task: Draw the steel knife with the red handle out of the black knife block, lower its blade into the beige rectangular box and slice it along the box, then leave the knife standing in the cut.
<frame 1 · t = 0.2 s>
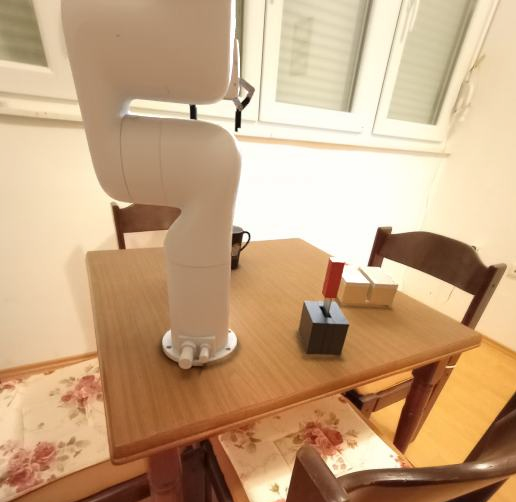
hand: (215, 129, 73), 31 cm above the table, tool pointing down, fingers open, 9 cm apart
knife block: (317, 345, 57), on the table
beige rectangular box: (357, 297, 76), on the table
knife: (318, 341, 56), point 1 cm above the table, touching knife block
coffee mug: (231, 266, 87), on the table
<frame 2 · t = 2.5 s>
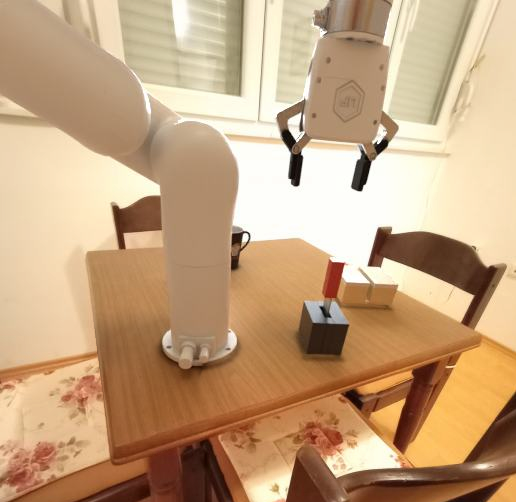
hand: (325, 187, 47), 25 cm above the table, tool pointing down, fingers open, 9 cm apart
nothing on the table moved.
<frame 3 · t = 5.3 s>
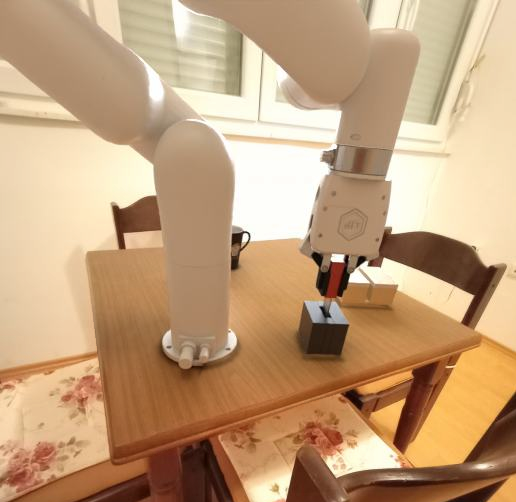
hand: (329, 292, 51), 11 cm above the table, tool pointing down, fingers closed on knife, 2 cm apart
knife: (318, 341, 56), point 1 cm above the table, touching gripper
everything else where it was.
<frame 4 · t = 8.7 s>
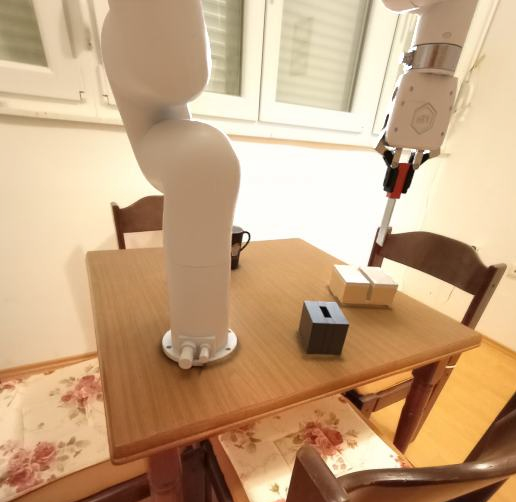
hand: (394, 191, 60), 24 cm above the table, tool pointing down, fingers closed on knife
knife: (379, 244, 66), point 14 cm above the table, touching gripper
everything else where it was.
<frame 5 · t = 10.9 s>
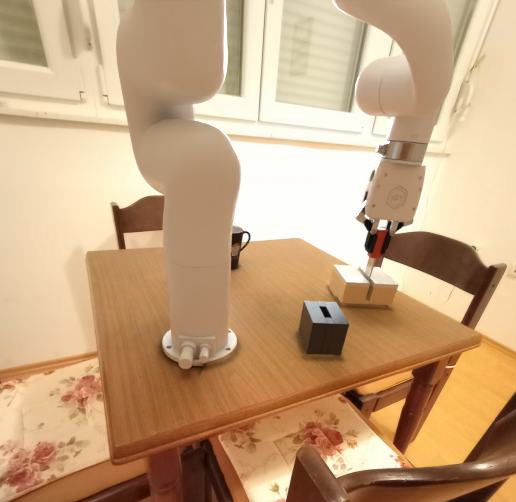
hand: (374, 251, 68), 12 cm above the table, tool pointing down, fingers closed on knife, 2 cm apart
knife: (362, 293, 74), point 2 cm above the table, touching gripper
everything else where it was.
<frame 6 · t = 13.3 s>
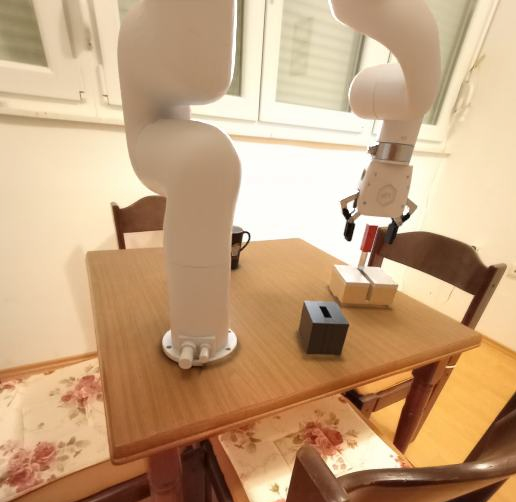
hand: (367, 241, 72), 13 cm above the table, tool pointing down, fingers open, 9 cm apart
knife: (355, 286, 78), point 1 cm above the table, touching beige rectangular box
everything else where it was.
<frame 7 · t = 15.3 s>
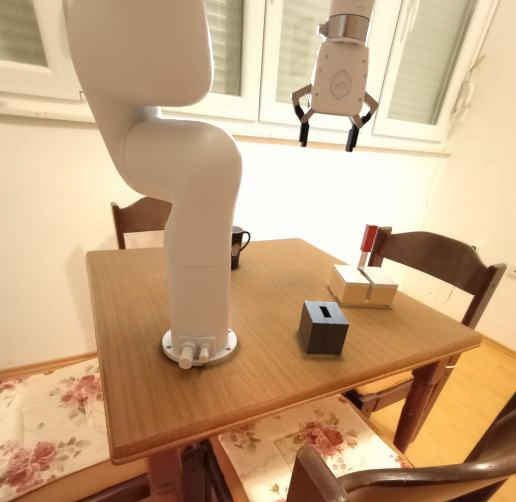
hand: (326, 149, 65), 30 cm above the table, tool pointing down, fingers open, 9 cm apart
nothing on the table moved.
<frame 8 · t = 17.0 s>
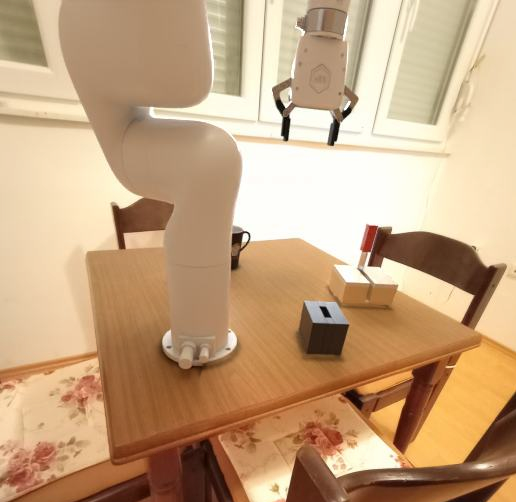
hand: (308, 143, 65), 30 cm above the table, tool pointing down, fingers open, 9 cm apart
nothing on the table moved.
at the end: knife 2.4 cm off-centre on the beige rectangular box, point 1.5 cm above the beige rectangular box's base; the gripper is holding nothing; knife tilted 0° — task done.
